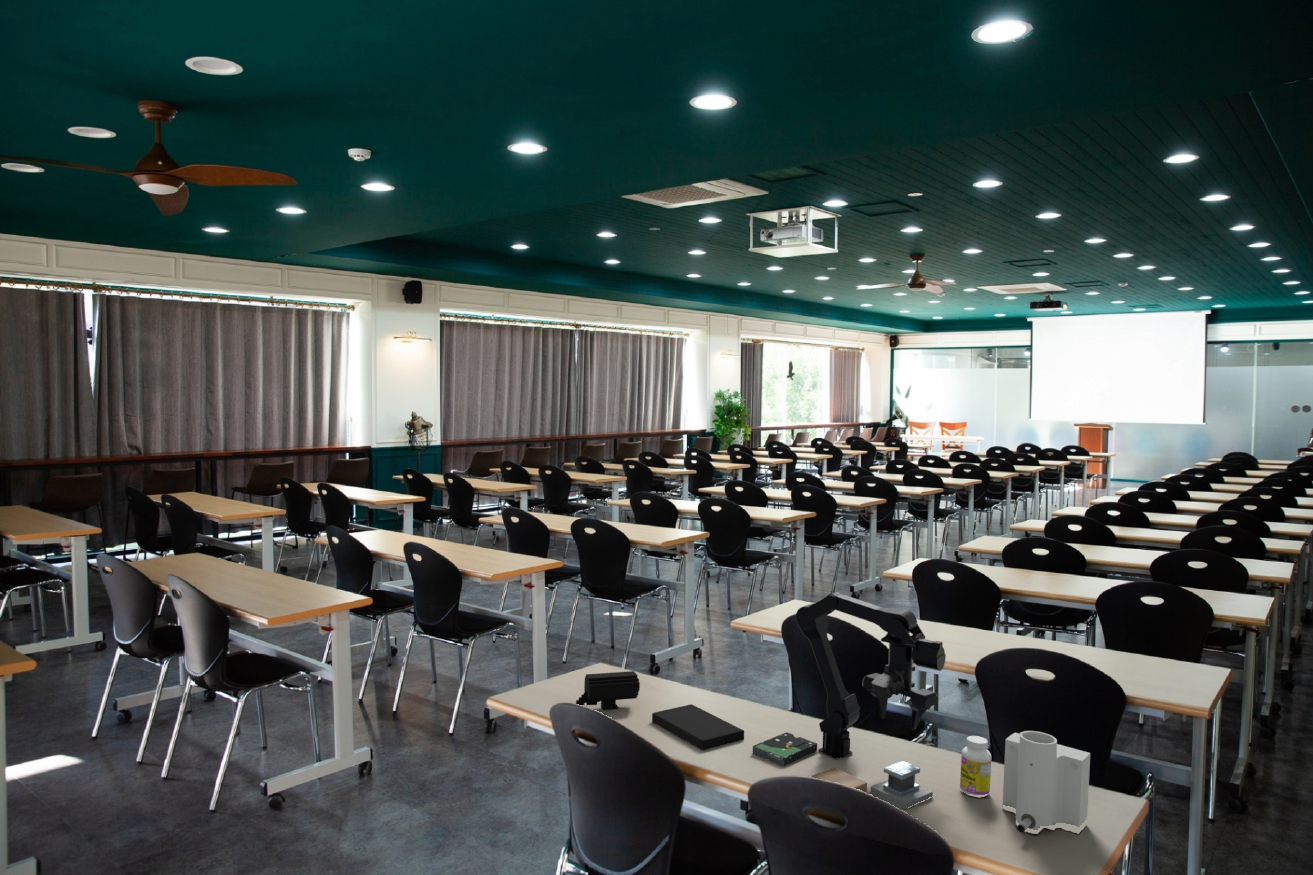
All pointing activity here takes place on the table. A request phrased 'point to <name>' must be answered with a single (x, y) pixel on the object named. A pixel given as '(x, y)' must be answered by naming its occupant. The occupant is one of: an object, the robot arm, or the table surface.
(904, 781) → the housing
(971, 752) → the supplement bottle
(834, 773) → the stand
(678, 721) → the external hard drive
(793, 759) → the disk drive
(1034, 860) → the table surface
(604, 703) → the security camera
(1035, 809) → the grey cylinder bracket
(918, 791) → the stand
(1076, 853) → the table surface
